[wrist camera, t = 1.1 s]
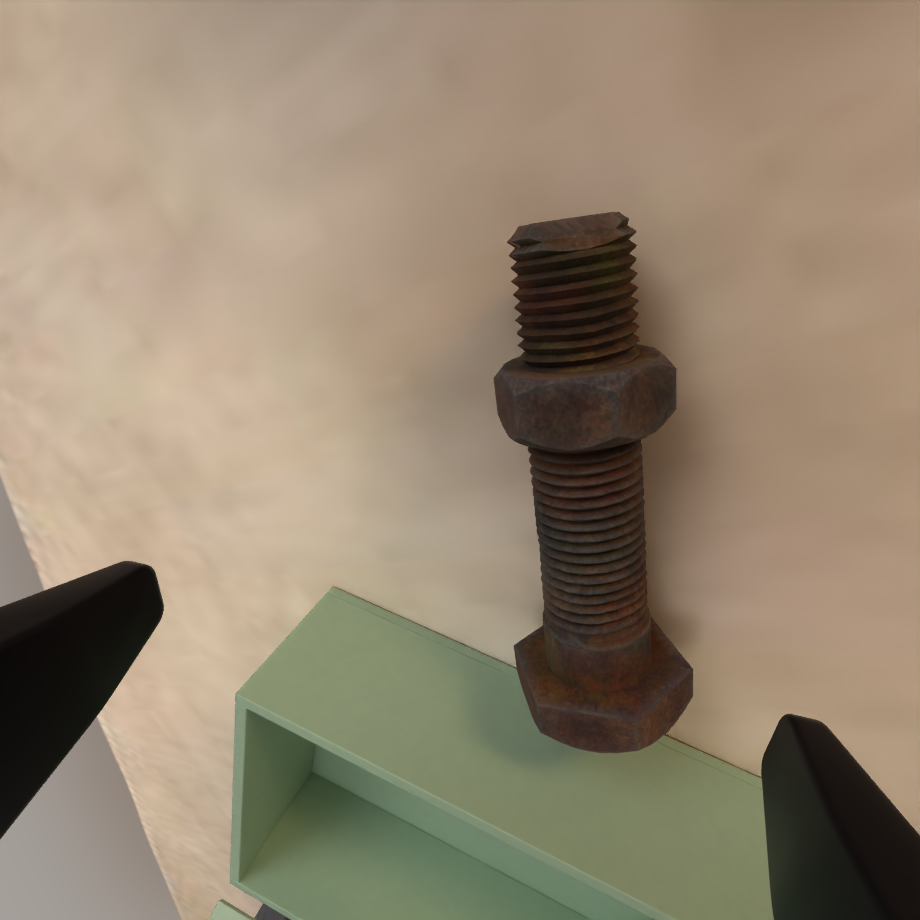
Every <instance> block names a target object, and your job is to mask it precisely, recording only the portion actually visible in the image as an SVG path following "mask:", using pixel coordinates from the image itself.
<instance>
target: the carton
mask: <svg viewBox="0 0 920 920" xmlns="http://www.w3.org/2000/svg"><path fill="white" fill-rule="evenodd" d="M235 702H236V704H235V733H234V766H233V799H232V831H231V864H230V884H232V885H234V886H236V887H237V888H239V889H241V890H242V891H244V892H246V893H247V894H249V895H251V896H252V897H254V898H256V899H257V900H259V901H261V902H262V903H264V904H266V905H267V906H269V907H271V908H272V909H274V910H276V911H277V912H279V913H281V914H282V915H284V916H286V917H287V918H289V919H291V920H774V918H773V911H772V903H771V893H770V881H769V868H768V855H767V842H766V828H765V815H764V802H763V788H762V779H761V778H759V777H757V776H755V775H752V774H750V773H748V772H746V771H743V770H741V769H739V768H737V767H734V766H732V765H730V764H728V763H726V762H723V761H721V760H719V759H717V758H714V757H712V756H710V755H708V754H705V753H703V752H701V751H699V750H697V749H694V748H692V747H690V746H688V745H685V744H683V743H681V742H679V741H676V740H674V739H672V738H670V737H668V736H665V735H663V736H662V737H661V738H660V739H659V740H657V741H656V742H655V743H653V744H652V745H650V746H648V747H646V748H643V749H641V750H639V751H633V752H624V753H596V752H590V751H585V750H581V749H577V748H574V747H571V746H568V745H566V744H563V743H560V742H558V741H556V740H554V739H552V738H550V737H548V736H546V735H544V734H542V733H540V731H539V729H538V728H537V726H536V724H535V722H534V720H533V718H532V715H531V712H530V710H529V707H528V704H527V701H526V698H525V695H524V692H523V690H522V686H521V683H520V679H519V676H518V672H517V669H516V668H514V667H511V666H509V665H507V664H505V663H502V662H500V661H498V660H496V659H494V658H491V657H489V656H487V655H485V654H482V653H480V652H478V651H476V650H473V649H471V648H469V647H467V646H465V645H462V644H460V643H458V642H456V641H453V640H451V639H449V638H447V637H444V636H442V635H440V634H438V633H436V632H433V631H431V630H429V629H427V628H424V627H422V626H420V625H418V624H415V623H413V622H411V621H409V620H407V619H404V618H402V617H400V616H398V615H395V614H393V613H391V612H389V611H386V610H384V609H382V608H380V607H378V606H375V605H373V604H371V603H369V602H366V601H364V600H362V599H360V598H357V597H355V596H353V595H351V594H349V593H346V592H344V591H342V590H340V589H337V588H335V587H332V588H331V589H330V591H329V592H328V593H327V594H326V595H325V596H324V597H323V598H322V599H321V600H320V601H319V603H318V604H317V605H316V606H315V607H314V608H313V609H312V610H311V611H310V612H309V614H308V615H307V616H306V617H305V618H304V619H303V620H302V621H301V622H300V623H299V625H298V626H297V627H296V628H295V629H294V630H293V631H292V632H291V633H290V635H289V636H288V637H287V638H286V639H285V640H284V641H283V642H282V643H281V644H280V646H279V647H278V648H277V649H276V650H275V651H274V652H273V653H272V654H271V655H270V657H269V658H268V659H267V660H266V661H265V662H264V663H263V664H262V665H261V666H260V668H259V669H258V670H257V671H256V672H255V673H254V674H253V675H252V676H251V678H250V679H249V680H248V681H247V682H246V683H245V684H244V685H243V686H242V687H241V689H240V690H239V691H238V692H237V693H236V697H235Z"/></svg>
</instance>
